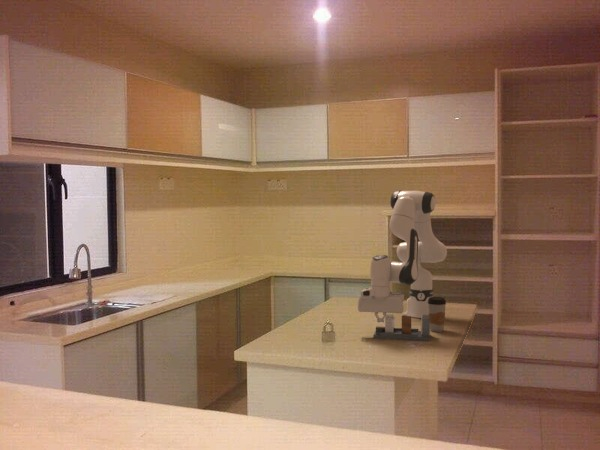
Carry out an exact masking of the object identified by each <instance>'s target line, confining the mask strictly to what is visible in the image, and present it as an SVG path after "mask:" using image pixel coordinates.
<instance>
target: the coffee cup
mask: <svg viewBox="0 0 600 450" xmlns="http://www.w3.org/2000/svg"><path fill="white" fill-rule="evenodd" d="M446 304H447V302H446V299H445V297H441V296H440V297H439V296H433V297H430V298H429V300H428V310H429V315H430V331H431V332H436V333H441V332H444V330H445V321H446V319H445V318H446Z"/></svg>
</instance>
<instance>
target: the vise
mask: <svg viewBox="0 0 600 450" xmlns="http://www.w3.org/2000/svg"><path fill="white" fill-rule="evenodd" d="M420 319H421V320H420V330H419V328H411V334H406V333H402V327H395V330H394V332H393V333H385V332H376V330H375V331H374V332H373V339H377V340H378V339H380V340H397V341H398V340H399V341H400V340H402V341H419V342H420V341H421V342H423V341H424V342H430V338H431V333H430V331H431V330H430V315H423V316H422V317H421V318H420Z"/></svg>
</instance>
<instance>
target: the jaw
mask: <svg viewBox="0 0 600 450" xmlns="http://www.w3.org/2000/svg"><path fill="white" fill-rule="evenodd" d="M394 314H395V313H386V316H385V318H384V326H378V325H377V326H375V331H376V332H385V333H393V332H394V330H395V328H396V324H395V323H396V322H395V321H396V317H395V315H394Z"/></svg>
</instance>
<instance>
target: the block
mask: <svg viewBox="0 0 600 450" xmlns="http://www.w3.org/2000/svg"><path fill="white" fill-rule="evenodd" d="M401 328H402V333H406V334H411V329H412V317H411V316H406V315H401Z"/></svg>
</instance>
